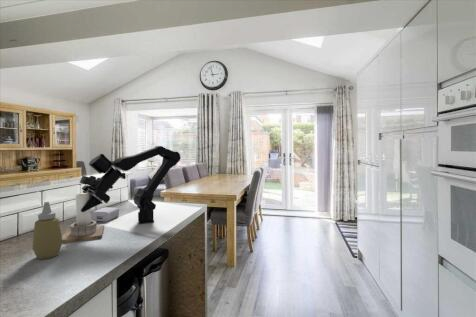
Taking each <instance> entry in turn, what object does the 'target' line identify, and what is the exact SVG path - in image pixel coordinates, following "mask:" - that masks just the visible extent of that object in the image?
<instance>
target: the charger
mask: <svg viewBox="0 0 476 317" xmlns="http://www.w3.org/2000/svg"><path fill="white" fill-rule="evenodd" d="M120 211H121V210H120V208H118V207H106V206H105V207H101V208H99V209H96V210H93V211H91V220H92V221H96V222H109V221H112V220H113V219H116V218H118V217H119V216H120Z"/></svg>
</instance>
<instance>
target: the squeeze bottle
mask: <svg viewBox="0 0 476 317" xmlns="http://www.w3.org/2000/svg"><path fill="white" fill-rule="evenodd" d="M56 214H57V213H56V211H52V208H51V205H50V202H49V201H45V202H43V207H42V210H41V212H40V213H38V214H37V220H36V221H34V227H33V239H32V251H33V252H34V254H35V256H36V258H37V259H39V260H45V259H46V260H47V259H50V258H54V257H56V256H58V255H59V254H60V252H61V248H62V246H63V243H62V236H63V235H62V230H61V224H60V219H59V218H58V217H56Z"/></svg>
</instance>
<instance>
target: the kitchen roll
mask: <svg viewBox="0 0 476 317" xmlns="http://www.w3.org/2000/svg"><path fill="white" fill-rule="evenodd" d="M88 200H89V193H83V192H80V193H77V194H75V208H76V209H75V210H76V211H75V213H76V215H75V216H76V219H75V220H76V222H77V226H87V225H91V212H92V211H91V210H92V208H91V209H89V210H87V211H84V212H82V211H81V209H82V208H83V206H84V205H85V204H86V202H87V201H88Z"/></svg>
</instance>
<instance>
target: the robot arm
mask: <svg viewBox="0 0 476 317" xmlns="http://www.w3.org/2000/svg"><path fill="white" fill-rule="evenodd" d="M156 156H159V157H161V158H162V162H161V164H160V166H158V167H159V168H158V169H157V170H156V172H155V173H154V175H153V176H152V178H151V179H150V180H149V182H148V183H147V184H146V186H144V188H138V189H137V192H136V193H135V194H133V196H134V197H133V202H134V204H135V205H136V206H137V208H138V210H139V211H138V213H137V221H138V222H139V224H149V223H154V222H155V220H154V210H156V207H157V204H155V203H154V202H153V199H154V196H155V195H154V194H155V191H156V190H157V189H158V187H159V185H160V184H161V183H162V181H163V180H164V179H165V177H166V176H167V174H168V172H169V171H170V169H172V168H173V167H175V166H176V165H177V164H178V163H179V162H180V160H181V154H180V152H179V151H175V150H171V149H169V148H166V147H164V146H162V145H157V146H154V147H152V148H149V149H146V150H144V151H141V152H138V153H136V154H133V155H127V156H121V157H118V158H116V159H115V160H110V159H108V157H107V156H106V155H105V154H104V153H99V155H97V156H96V157H94V158H92V159H91V160H90V162H89V163H88V165H89V167H90V168H92V169H93V170H94V171H95V172H97V173H98V174H103V175H102V177H97V176H94V175H90V176H87V175H82V177H80V180H79V183H80V184H83V185H84V186H83V187H82V188H81V190H82V193H89V200H88V201H87V202H86V204H85V205H84V206H83V208H82V209H81V211H82V212H84V211H87V210H89V209H91V210H92V208H95V207H96V206H97V207H98V206H99V205H101V204H102V205H103V204H104V203H105V204H108V203H109V202H110V201H111V196H109V194H107V192H108V191H109V190H112V189H113V188H114V185H115V184H116V183H117V182H118V181H119V179H121V180H126V179H127V178H126V171H130V170H131V169H134V168H135V167H136V166H137V165H139V163H142V162H144V161H146V160H149V159H152V158H154V157H156ZM115 168H116V169H115ZM121 171H125V172H121Z"/></svg>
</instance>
